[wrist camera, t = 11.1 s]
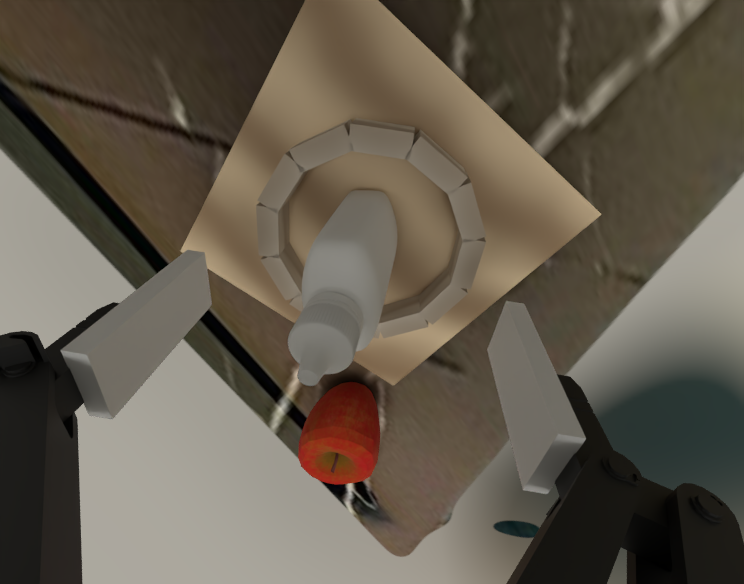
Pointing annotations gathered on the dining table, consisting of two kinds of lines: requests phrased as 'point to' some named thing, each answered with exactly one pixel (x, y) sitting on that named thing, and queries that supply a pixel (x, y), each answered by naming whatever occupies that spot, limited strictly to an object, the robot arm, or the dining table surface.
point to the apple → (341, 435)
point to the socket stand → (383, 181)
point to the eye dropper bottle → (344, 285)
